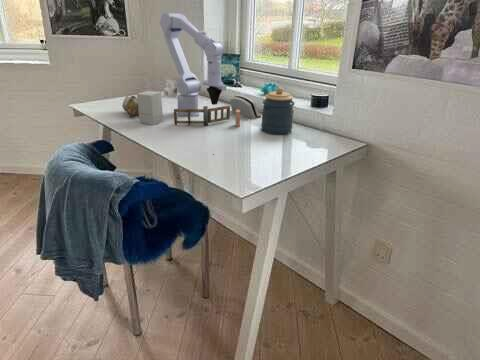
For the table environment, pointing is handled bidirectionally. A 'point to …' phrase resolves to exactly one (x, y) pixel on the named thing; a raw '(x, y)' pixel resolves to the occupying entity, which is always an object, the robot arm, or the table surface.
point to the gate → (216, 114)
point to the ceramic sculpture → (131, 105)
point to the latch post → (237, 118)
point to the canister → (277, 112)
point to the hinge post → (205, 115)
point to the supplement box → (150, 107)
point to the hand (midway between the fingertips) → (214, 104)
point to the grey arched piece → (244, 106)
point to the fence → (188, 116)
